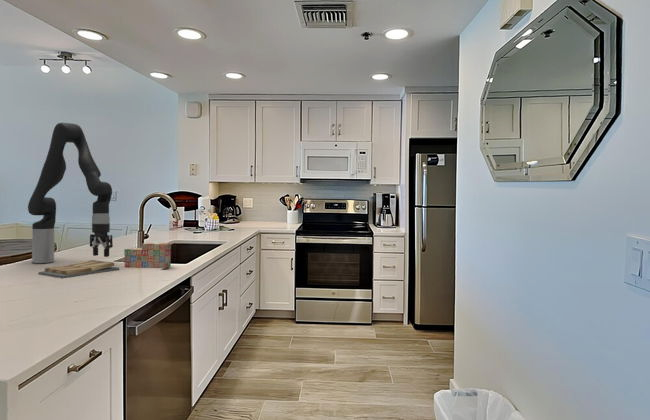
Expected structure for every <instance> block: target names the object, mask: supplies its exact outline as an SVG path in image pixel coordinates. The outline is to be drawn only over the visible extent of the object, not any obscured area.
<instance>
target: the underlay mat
mask: <svg viewBox="0 0 650 420" xmlns="http://www.w3.org/2000/svg"><path fill="white" fill-rule="evenodd" d="M113 271H120V267H116V266H112V267H107V268H103V269H99V270H95V271H91V272H85V273H78V274H71V275H65V274H59V273H52V272H46V271H45V270H44V271H39V272H38V273H37V274H38V275H39V276H40V275H41V276H46V277H47V276H48V277H52V278H53V277H54V278H58V279H67V278H74V277H80V276H87V275H94V274H101V273H106V272H113Z"/></svg>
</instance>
